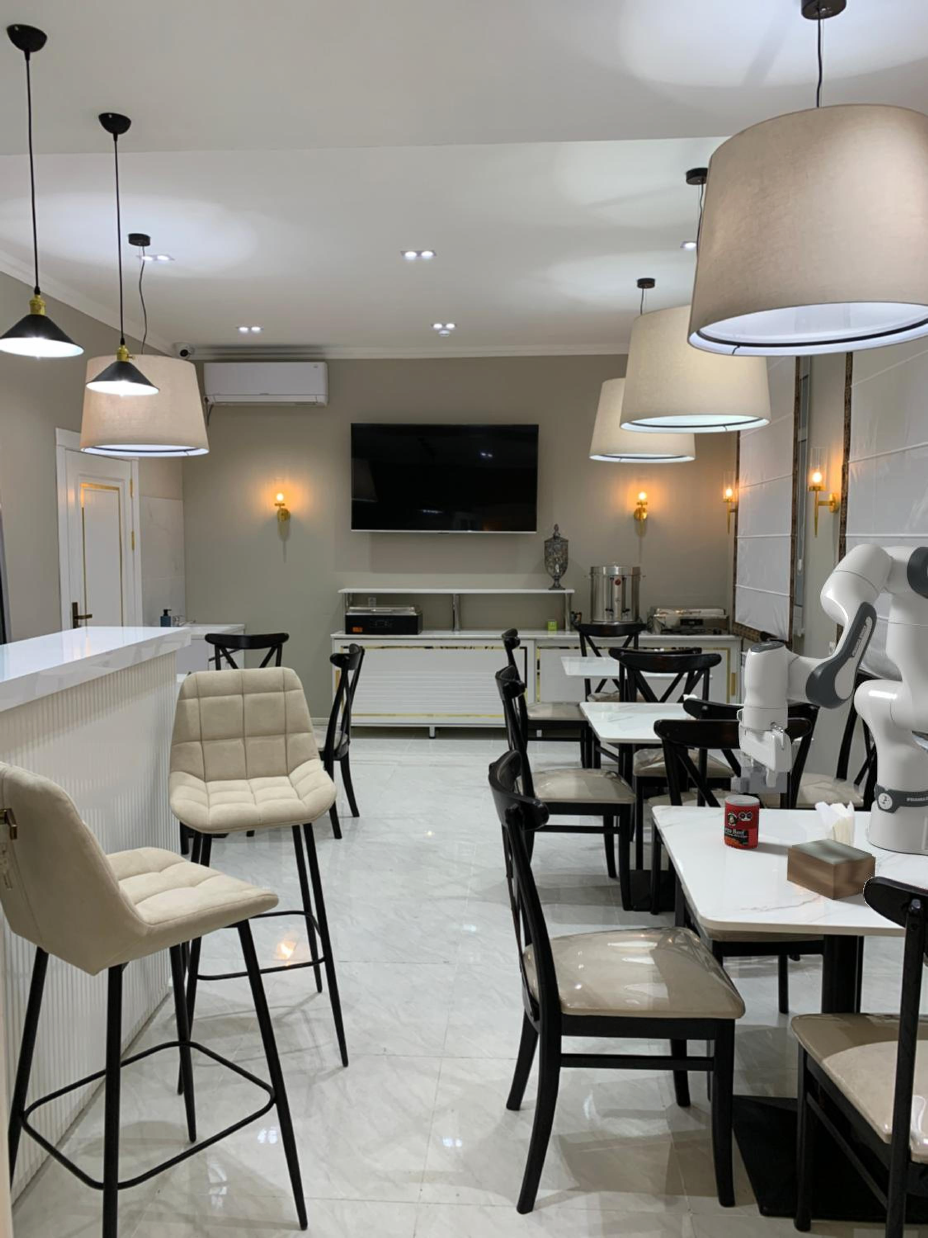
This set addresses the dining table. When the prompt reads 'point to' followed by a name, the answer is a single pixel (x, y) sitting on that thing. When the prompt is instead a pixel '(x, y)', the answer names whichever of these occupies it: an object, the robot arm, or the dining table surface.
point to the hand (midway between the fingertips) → (764, 782)
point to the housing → (759, 781)
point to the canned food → (741, 821)
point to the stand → (830, 868)
